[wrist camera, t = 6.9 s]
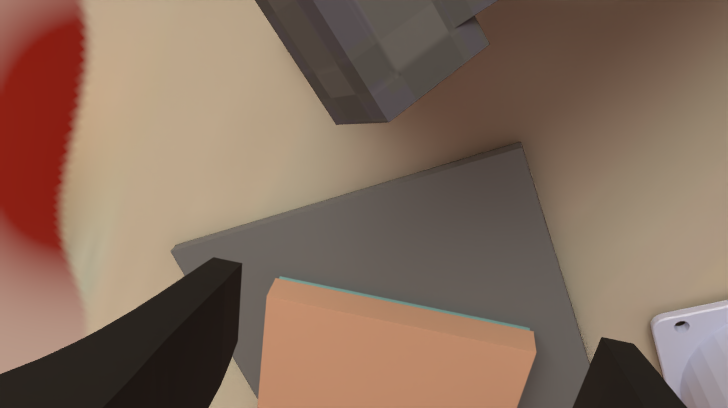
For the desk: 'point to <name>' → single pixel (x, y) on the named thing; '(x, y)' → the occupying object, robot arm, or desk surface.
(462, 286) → the mat
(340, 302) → the tile
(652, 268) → the desk surface
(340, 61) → the handgun
